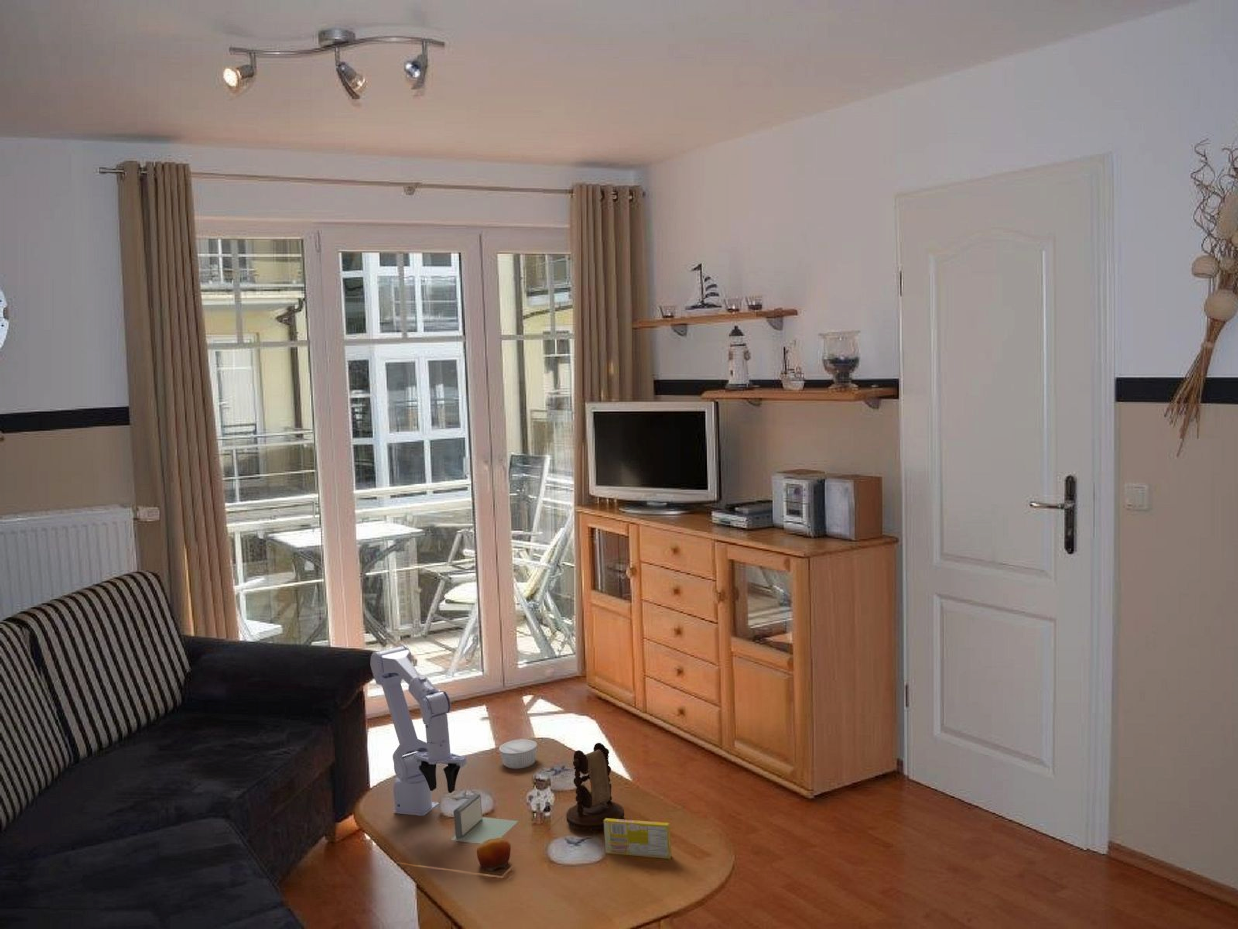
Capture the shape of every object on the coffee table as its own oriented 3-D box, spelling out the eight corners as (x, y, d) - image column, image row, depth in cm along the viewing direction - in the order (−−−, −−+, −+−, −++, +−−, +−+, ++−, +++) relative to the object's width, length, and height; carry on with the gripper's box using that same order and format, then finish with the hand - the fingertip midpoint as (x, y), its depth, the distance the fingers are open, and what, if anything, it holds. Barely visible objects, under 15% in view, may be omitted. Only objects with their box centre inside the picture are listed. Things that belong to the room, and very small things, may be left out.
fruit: (488, 875, 262) (479, 840, 265) (479, 880, 268) (470, 846, 271) (520, 865, 266) (511, 831, 268) (510, 870, 272) (502, 837, 275)
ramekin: (495, 770, 329) (494, 753, 328) (505, 756, 340) (504, 739, 339) (533, 770, 327) (532, 753, 326) (542, 756, 338) (541, 739, 337)
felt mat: (450, 841, 284) (450, 840, 284) (477, 818, 297) (477, 816, 297) (492, 846, 280) (492, 845, 279) (518, 822, 292) (518, 821, 292)
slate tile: (455, 837, 285) (453, 811, 284) (477, 819, 295) (474, 793, 294) (461, 838, 284) (459, 811, 284) (483, 819, 295) (480, 794, 294)
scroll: (592, 840, 279) (586, 762, 277) (555, 823, 290) (549, 748, 288) (636, 820, 289) (631, 745, 287) (599, 805, 300) (593, 732, 298)
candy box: (672, 855, 269) (670, 822, 268) (669, 860, 267) (667, 826, 266) (608, 849, 274) (605, 817, 273) (605, 853, 272) (602, 820, 271)
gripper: (405, 743, 289) (409, 794, 290) (454, 747, 283) (459, 799, 285) (419, 733, 295) (424, 783, 297) (468, 737, 290) (473, 788, 291)
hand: (442, 790), depth 291 cm, fingers open, 5 cm apart
